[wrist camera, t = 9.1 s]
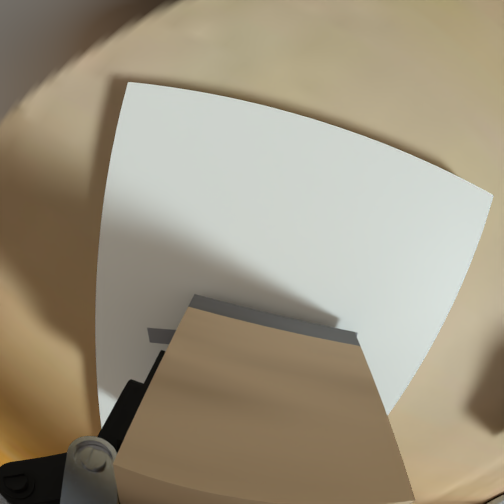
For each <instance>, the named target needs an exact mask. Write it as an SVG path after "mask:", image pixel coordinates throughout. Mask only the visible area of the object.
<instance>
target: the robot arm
mask: <svg viewBox="0 0 504 504" xmlns="http://www.w3.org/2000/svg"><path fill="white" fill-rule="evenodd" d="M165 352H166V351H163V350H161V351H160V352H159V354H158V356H157V358H156V360H155V362H154V364H153V366H152V368H151V370H150V372H149V374H148V376H147V378H146V380H145V382H144V383H141V382H138V381H135V380H132V379H130V380H129V381H128V382H127V384H126V385H125V387H124V389H123V391H122V393H121V394H120V396H119V398H118V400H117V402H116V403H115V405H114V407H113V409H112V411H111V412H110V414H109V416H108V418H107V420H106V422H105V423H104V425H103V427H102V429H101V431H100V433H99V435H98V437H95V436H85V437H80V438H78V439H76V440H74V441H73V442H72V443H71V444H70V446H69V448H68V451H67V453H62V454H57V455H52V456H47V457H41V458H35V459H29V460H22V461H15V462H9V463H6V464H4V465H2V466H1V467H0V504H120V501H119V496H118V491H117V486H116V480H115V474H114V468H113V462H114V460H115V458H116V456H117V453H118V451H119V449H120V447H121V445H122V442H123V440H124V438H125V436H126V434H127V431H128V429H129V427H130V425H131V423H132V421H133V419H134V416H135V414H136V412H137V410H138V408H139V406H140V404H141V402H142V399H143V397H144V395H145V393H146V391H147V389H148V387H149V385H150V383H151V381H152V378H153V376H154V374H155V372H156V370H157V368H158V366H159V364H160V362H161V360H162V358H163V356H164V354H165ZM486 504H504V495H501V496H499V497H497V498H495V499H494V500H492V501H490V502H488V503H486Z"/></svg>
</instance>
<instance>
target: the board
mask: <svg viewBox="0 0 504 504" xmlns="http://www.w3.org/2000/svg"><path fill="white" fill-rule="evenodd" d="M493 196H494V195H492V194H490V193H488V192H487V191H485V190H483V189H481V188H479V187H477V186H475V185H474V184H472V183H470V182H468V181H466V180H464V179H462V178H460V177H458V176H456V175H454V174H452V173H450V172H448V171H446V170H444V169H442V168H439V167H437V166H435V165H433V164H431V163H429V162H426V161H424V160H422V159H420V158H417V157H415V156H413V155H411V154H408V153H406V152H403V151H401V150H399V149H396V148H394V147H391V146H389V145H386V144H384V143H381V142H379V141H376V140H373V139H371V138H368V137H365V136H363V135H360V134H357V133H354V132H351V131H348V130H346V129H343V128H340V127H337V126H334V125H331V124H327V123H324V122H321V121H318V120H315V119H311V118H308V117H305V116H301V115H298V114H294V113H291V112H287V111H284V110H280V109H276V108H272V107H268V106H264V105H260V104H256V103H252V102H248V101H243V100H239V99H234V98H229V97H225V96H220V95H215V94H209V93H204V92H198V91H192V90H186V89H180V88H174V87H167V86H159V85H151V84H143V83H134V82H128V84H127V88H126V92H125V96H124V99H123V103H122V107H121V112H120V116H119V120H118V124H117V129H116V134H115V138H114V143H113V148H112V153H111V159H110V164H109V170H108V176H107V182H106V189H105V196H104V203H103V211H102V219H101V228H100V238H99V249H98V263H97V280H96V309H95V342H96V370H97V387H98V400H99V410H100V420H101V428H102V427H103V425H104V423H105V422H106V420H107V418H108V416H109V414H110V412H111V411H112V409H113V407H114V405H115V403H116V402H117V400H118V398H119V396H120V394H121V393H122V391H123V389H124V387H125V385H126V384H127V382H128V381H129V380H130V379H132V380H135V381H138V382H141V383H144V382H145V380H146V378H147V376H148V374H149V372H150V370H151V368H152V366H153V364H154V362H155V360H156V358H157V356H158V354H159V352H160V351H161V350H163V351H166V350H167V348H168V346H169V344H170V342H171V340H172V338H173V336H174V334H175V332H176V330H177V328H178V326H179V324H180V322H181V320H182V318H183V316H184V314H185V312H186V310H187V308H188V306H189V304H190V302H191V300H192V298H193V296H194V294H196V295H200V296H204V297H208V298H211V299H215V300H219V301H223V302H227V303H231V304H235V305H239V306H243V307H247V308H251V309H255V310H259V311H263V312H267V313H271V314H275V315H280V316H284V317H288V318H293V319H297V320H301V321H306V322H310V323H315V324H320V325H324V326H329V327H334V328H339V329H343V330H348V331H353V332H355V334H356V336H357V339H358V341H359V344H360V346H361V349H362V351H363V354H364V356H365V359H366V361H367V364H368V366H369V369H370V371H371V374H372V376H373V379H374V382H375V384H376V387H377V389H378V392H379V395H380V397H381V400H382V403H383V405H384V408H385V411H386V414H387V416H388V414H389V413H390V411H391V410H392V408H393V407H394V406H395V404H396V403H397V401H398V400H399V398H400V397H401V395H402V394H403V392H404V391H405V389H406V388H407V386H408V384H409V383H410V381H411V380H412V378H413V376H414V375H415V373H416V372H417V370H418V368H419V367H420V365H421V363H422V362H423V360H424V358H425V356H426V355H427V353H428V351H429V349H430V348H431V346H432V344H433V342H434V340H435V338H436V337H437V335H438V333H439V331H440V329H441V327H442V325H443V323H444V321H445V319H446V317H447V315H448V313H449V311H450V309H451V307H452V305H453V303H454V301H455V298H456V296H457V294H458V292H459V290H460V287H461V285H462V283H463V280H464V278H465V276H466V273H467V271H468V268H469V266H470V263H471V261H472V258H473V256H474V253H475V251H476V248H477V245H478V242H479V240H480V237H481V234H482V231H483V228H484V225H485V222H486V219H487V216H488V213H489V209H490V206H491V203H492V199H493Z"/></svg>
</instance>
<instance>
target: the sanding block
mask: <svg viewBox="0 0 504 504" xmlns="http://www.w3.org/2000/svg"><path fill="white" fill-rule="evenodd" d="M113 468H114V474H115V480H116V486H117V491H118V496H119V501H120V504H411V503H412V502H414V501H415V498H414V495H413V491H412V488H411V485H410V482H409V478H408V475H407V472H406V469H405V466H404V463H403V460H402V457H401V454H400V451H399V448H398V445H397V442H396V439H395V436H394V433H393V430H392V428H391V425H390V422H389V419H388V416H387V414H386V411H385V408H384V405H383V403H382V400H381V397H380V395H379V392H378V389H377V387H376V384H375V382H374V379H373V376H372V374H371V371H370V369H369V366H368V364H367V361H366V359H365V356H364V354H363V351H362V349H361V346H360V344H359V341H358V339H357V336H356V334H355V332H353V331H348V330H343V329H339V328H334V327H329V326H324V325H320V324H315V323H310V322H306V321H301V320H297V319H293V318H288V317H284V316H280V315H275V314H271V313H267V312H263V311H259V310H255V309H251V308H247V307H243V306H239V305H235V304H231V303H227V302H223V301H219V300H215V299H211V298H208V297H204V296H200V295H196V294H194V296H193V298H192V300H191V302H190V304H189V306H188V308H187V310H186V312H185V314H184V316H183V318H182V320H181V322H180V324H179V326H178V328H177V330H176V332H175V334H174V336H173V338H172V340H171V342H170V344H169V346H168V348H167V350H166V352H165V354H164V356H163V358H162V360H161V362H160V364H159V366H158V368H157V370H156V372H155V374H154V376H153V378H152V381H151V383H150V385H149V387H148V389H147V391H146V393H145V395H144V397H143V399H142V402H141V404H140V406H139V408H138V410H137V412H136V414H135V416H134V419H133V421H132V423H131V425H130V427H129V429H128V431H127V434H126V436H125V438H124V440H123V442H122V445H121V447H120V449H119V451H118V453H117V456H116V458H115V460H114V462H113Z"/></svg>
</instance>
